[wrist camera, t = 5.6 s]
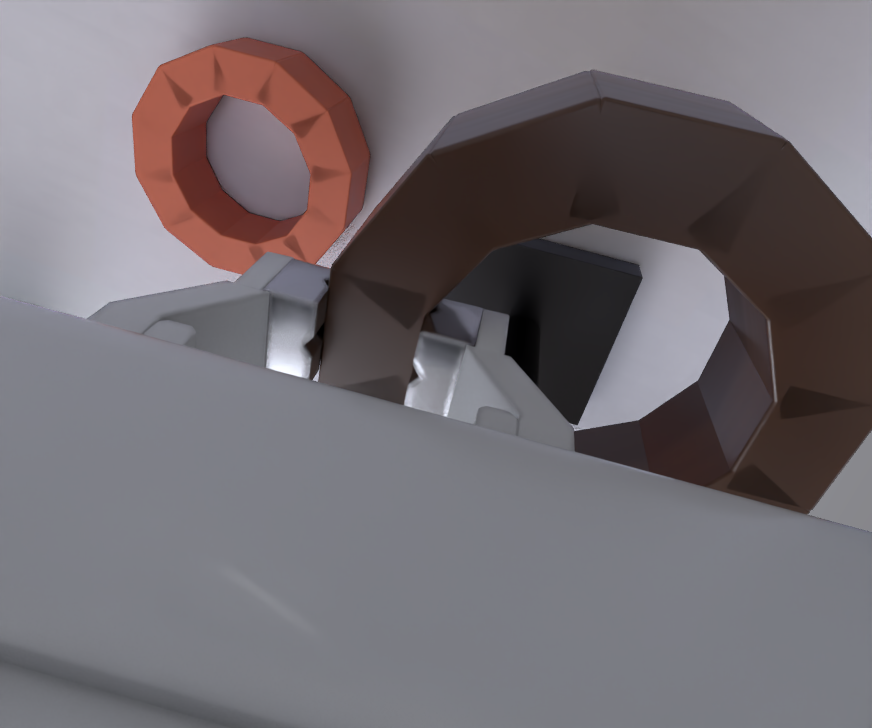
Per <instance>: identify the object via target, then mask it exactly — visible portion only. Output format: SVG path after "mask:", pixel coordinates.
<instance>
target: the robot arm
mask: <svg viewBox="0 0 872 728" xmlns="http://www.w3.org/2000/svg"><path fill="white" fill-rule="evenodd" d="M329 276H330V268H327V267H323V266H320V265H316V264H312V263H309V262H305V261H302V260H298V259H294V258H293V257H290V256H285V255H281V254H277V253H272V252H266V253H265V254H264V255H263V256H262V257H261V258H260V259H259V260H258V261H257V262H256V263H254V264H253V265H252V266H251V267H250V268H249V269H248V270H247V271H246V272H245V273H244V274H243V275H242V276H241V277H239V278H238V279H237V280H236V281H235V282H230V281H222V282H217V283H211V284H206V285H200V286H195V287H189V288H184V289H179V290H173V291H168V292H162V293H157V294H152V295H146V296H141V297H135V298H130V299H124V300H119V301H114V302H109V303H108V304H107V305H105V306H104V307H102V308H101V309H100V310H98V311H97V312H96V313H94V314H93V315H91V316H90V317H89V318H87V319H85V318H81V317H77V316H74V315H70V314H66V313H63V312H59V311H55V310H52V309H48V308H44V307H40V306H37V305H33V304H29V303H26V302H22V301H18V300H15V299H11V298H7V297H4V296H0V728H872V532H869V531H865V530H862V529H858V528H855V527H851V526H847V525H843V524H840V523H836V522H832V521H829V520H825V519H821V518H817V517H814V516H810V515H807V514H803V513H799V512H796V511H792V510H788V509H784V508H781V507H777V506H773V505H770V504H766V503H762V502H759V501H755V500H751V499H748V498H744V497H740V496H736V495H733V494H729V493H725V492H722V491H718V490H714V489H711V488H707V487H703V486H700V485H696V484H692V483H689V482H685V481H681V480H677V479H674V478H670V477H666V476H663V475H659V474H655V473H652V472H648V471H644V470H641V469H637V468H633V467H629V466H626V465H622V464H618V463H615V462H611V461H607V460H604V459H600V458H596V457H593V456H589V455H585V454H581V453H578V452H575V447H574V428H573V427H572V426H571V424H570V423H569V422H568V421H567V420H566V419H565V418H564V417H563V415H562V414H561V413H560V412H559V411H558V410H557V409H556V407H555V406H554V405H553V404H552V403H551V402H550V401H549V400H548V398H547V397H546V396H545V395H544V394H543V393H542V392H541V390H540V389H539V388H538V387H537V386H536V385H535V384H534V383H533V381H532V380H531V379H530V378H529V377H528V376H527V375H526V374H525V372H524V371H523V370H522V369H521V368H520V367H519V366H518V364H517V363H516V362H515V361H514V360H513V359H512V358H511V357H510V356H506V355H504V353H505V346H506V338H507V331H508V324H509V315H508V314H504V313H499V312H494V311H490V310H485V309H484V310H483V308H481V307H476V306H472V305H468V304H464V303H460V302H456V301H452V300H447V299H443V300H442V301H441V302H440V303H439V304H438V305H437V306H436V307H435V308H434V309H433V310H432V311H430V312H429V314H427V315H426V318H425V320H424V323H423V326H422V328H421V331H420V335H419V339H418V343H417V347H416V352H415V356H414V360H413V366H414V369H413V372H412V375H411V378H410V380H409V383H408V387H407V391H406V396H405V401H404V405H401V404H397V403H394V402H390V401H386V400H383V399H379V398H375V397H371V396H368V395H364V394H360V393H357V392H353V391H349V390H346V389H342V388H338V387H335V386H331V385H327V384H324V383H320V382H316V381H313V378H314V377H315V375H316V373H317V372H318V370H319V365H320V359H321V351H322V343H323V332H324V323H325V320H326V311H327V302H328V294H329V287H328V286H329ZM482 311H483V312H482Z"/></svg>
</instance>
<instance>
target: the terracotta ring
mask: <svg viewBox="0 0 872 728" xmlns="http://www.w3.org/2000/svg"><path fill="white" fill-rule="evenodd" d="M223 95H226V96H230V97H234V98H238V99H242V100H245V101H249V102H253V103H257V104H261V105H263V106H264V107H265V108H267V109H268V110H269V111H270V112H271V113H272V114H273V115H274V116H275V117H276V118H277V119H279V120H280V121H281V122H282V123H283V124H284V125H285V126H286V127H287V128H288V129H289V130H291V131H292V132H293V133H294V135H295V137H296V140H297V142H298V144H299V147H300V149H301V152H302V154H303V157H304V159H305V161H306V164H307V166H308V169H309V171H310V174H311V175H310V185H309V196H308V206H307V211H306V212H305V213H304V214H303V215H301V216H297V217H294V218H290V219H287V220H283V221H277V220H273V219H270V218H266V217H262V216H258V215H255V214H251V213H248V212H247V211H246V210H245V209H244V208H242V207H241V206H240V205H239V204H238V203H237V202H235V201H234V200H233V199H232V198H231V197H230V196H228V195H227V194H226V193H225V192H224V191H223V190H222V189H221V187H220V185H219V183H218V181H217V178H216V176H215V174H214V172H213V170H212V168H211V166H210V164H209V162H208V160H207V158H206V122H207V120H208V118H209V117H210V115H211V114H212V112H213V111H214V109H215V107H216V106H217V104H218V103H219V101H220V99H221V98H222V96H223ZM132 125H133V141H134V157H135V172H136V176H137V178H138V180H139V182H140V184H141V185H142V187H143V189H144V191H145V193H146V195H147V196H148V198H149V200H150V202H151V204H152V206H153V207H154V209H155V211H156V213H157V215H158V217H159V218H160V220H161V222H162V224H163V226H164V228H166V229H167V231H169V232H170V233H171V234H172V235H174V236H175V237H176V238H177V239H179V240H180V241H181V242H182V243H183V244H185V245H186V246H187V247H188V248H190V249H191V250H192V251H193V252H195V253H196V254H197V255H198V256H199V257H201V258H202V259H203V260H204V261H206V262H207V263H208V264H209V265H212V267H216V268H220V269H223V270H227V271H231V272H235V273H238V274H242V275H243V274H244V273H245V272H246V271H247V270H248V269H249V268H250V267H251V266H252V265H253V264H254V263H256V262H257V261H258V260H259V259H260V258H261V257H262V256H263V255H264V254H265V253H266V252H272V253H277V254H281V255H285V256H290V257H293V258H294V259H298V260H302V261H305V262H309V263H312V264H316V263H317V262H318V260H319V259H320V258H321V257H322V256H323V255H324V254H325V252H326V251H327V250H328V249H329V248H330V247H331V246H332V244H333V243H334V242H335V241H336V240H337V239H338V237H339V236H340V235H341V234H342V233H343V232H344V231H345V229H346V228H347V227H348V226H349V224H350V223H351V222H352V221H353V220H354V218H355V217H356V216H357V215H358V213H359V212H360V211H361V210H362V208H363V202H364V195H365V189H366V182H367V175H368V168H369V162H370V152H369V149H368V146H367V144H366V141H365V138H364V135H363V132H362V130H361V127H360V124H359V121H358V118H357V116H356V113H355V110H354V107H353V104H352V102H351V99H350V97H349V96H348V95H347V94H346V93H345V92H344V91H343V90H342V89H341V88H340V87H339V86H338V85H337V84H335V83H334V82H333V81H332V80H331V79H330V78H329V77H328V76H327V75H326V74H325V73H324V72H323V71H322V70H321V69H320V68H319V67H318V66H317V65H316V64H315V63H314V62H313V61H312V60H311V59H310V58H309V57H307V56H306V55H305V54H304V53H302V52H300V51H296V50H293V49H289V48H285V47H281V46H277V45H273V44H270V43H266V42H262V41H258V40H254V39H250V38H240V39H235V40H231V41H226V42H222V43H217V44H212V45H210V46H207V47H204V48H202V49H199V50H197V51H194V52H192V53H189V54H187V55H184V56H182V57H179V58H177V59H174V60H172V61H169V62H167V63H164V64H162V65H160V66H159V67H158V68H157V70H156V72H155V74H154V76H153V78H152V79H151V81H150V83H149V85H148V87H147V88H146V90H145V92H144V94H143V96H142V98H141V99H140V101H139V103H138V105H137V107H136V108H135V110H134V112H133V114H132Z"/></svg>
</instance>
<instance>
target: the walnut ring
mask: <svg viewBox="0 0 872 728" xmlns="http://www.w3.org/2000/svg"><path fill="white" fill-rule="evenodd" d="M591 224H594V225H598V226H602V227H607V228H611V229H615V230H619V231H623V232H627V233H632V234H636V235H640V236H644V237H648V238H652V239H656V240H661V241H665V242H669V243H673V244H677V245H681V246H685V247H690V248H694V249H698V250H700V251H701V252H702V253H703V254H704V255H705V257H706V258H707V259H708V260H709V261H710V262H711V263H712V264H713V265H714V266H715V267H716V268H717V269H718V270H719V271H720V272H721V273H722V274H723V275H724V278H725V287H726V295H727V303H728V311H729V319H730V320H729V322H728V324H727V326H726V328H725V329H724V331H723V333H722V335H721V337H720V339H719V341H718V343H717V345H716V347H715V349H714V351H713V353H712V355H711V356H710V358H709V360H708V362H707V364H706V366H705V368H704V370H703V372H702V374H701V376H700V378H699V380H698V381H696V382H695V383H693V384H692V385H690V386H689V387H687V388H686V389H684V390H683V391H682V392H680V393H679V394H677V395H676V396H674V397H673V398H671V399H670V400H668V401H667V402H665V403H664V404H662V405H661V406H659V407H658V408H656V409H655V410H653V411H652V412H650V413H649V414H648V415H646V416H645V417H643V418H642V419H640V420H638V421H632V422H626V423H620V424H614V425H608V426H602V427H596V428H590V429H585V430H579V431H574V447H575V452H578V453H581V454H585V455H589V456H593V457H596V458H600V459H604V460H607V461H611V462H615V463H618V464H622V465H626V466H629V467H633V468H637V469H641V470H644V471H648V472H652V473H655V474H659V475H663V476H666V477H670V478H674V479H677V480H681V481H685V482H689V483H692V484H696V485H700V486H703V487H707V488H711V489H714V490H718V491H722V492H725V493H729V494H733V495H736V496H740V497H744V498H748V499H751V500H755V501H759V502H762V503H766V504H770V505H773V506H777V507H781V508H784V509H788V510H792V511H796V512H799V513H803V514H809V513H810V511H811V510H813V508H814V507H815V506H816V504H817V503H818V502H819V500H820V499H821V498H822V496H823V495H824V493H825V492H826V491H827V490H828V488H829V487H830V486H831V484H832V483H833V482H834V480H835V479H836V478H837V476H838V475H839V474H840V472H841V471H842V469H843V468H844V467H845V465H846V464H847V463H848V462H849V460H850V459H851V457H852V456H853V455H854V453H855V452H856V451H857V449H858V448H859V447H860V445H861V444H862V443H863V441H864V440H865V438H866V437H867V436H868V435H869V433H870V432H871V431H872V238H871V236H870V235H869V234H868V233H867V232H866V231H865V229H864V228H863V227H862V226H861V225H860V224H859V222H858V221H857V220H856V219H855V218H854V217H853V215H852V214H851V213H850V212H849V211H848V210H847V208H846V207H845V206H844V205H843V204H842V202H841V201H840V200H839V199H838V198H837V197H836V195H835V194H834V193H833V192H832V191H831V190H830V188H829V187H828V186H827V185H826V184H825V183H824V181H823V180H822V179H821V178H820V177H819V176H818V174H817V173H816V172H815V171H814V170H813V169H812V167H811V166H810V165H809V164H808V163H807V162H806V160H805V159H804V158H803V157H802V156H801V155H800V153H799V152H798V151H797V150H796V149H795V148H794V146H793V145H792V144H791V143H790V142H789V141H788V140H786V139H785V138H783V137H782V136H780V135H779V134H777V133H776V132H774V131H773V130H771V129H770V128H768V127H767V126H765V125H764V124H763V123H761V122H760V121H758V120H757V119H755V118H754V117H752V116H751V115H749V114H748V113H746V112H745V111H743V110H742V109H740V108H739V107H737V106H736V105H734V104H732V103H731V102H729V101H725V100H721V99H716V98H712V97H708V96H703V95H699V94H695V93H691V92H686V91H682V90H678V89H674V88H669V87H665V86H661V85H656V84H652V83H648V82H644V81H639V80H635V79H631V78H627V77H622V76H618V75H614V74H609V73H605V72H601V71H597V70H590V71H584V72H581V73H578V74H575V75H572V76H569V77H566V78H563V79H560V80H557V81H554V82H551V83H548V84H545V85H542V86H539V87H536V88H533V89H530V90H527V91H524V92H521V93H519V94H516V95H513V96H510V97H507V98H504V99H501V100H498V101H495V102H492V103H489V104H486V105H483V106H480V107H477V108H474V109H471V110H468V111H465V112H462V113H459V114H457V115H456V116H453V117H452V118H451V119H450V120H449V122H448V123H447V124H446V125H445V126H444V127H443V129H442V130H441V131H440V132H439V133H438V135H437V136H436V137H435V138H434V139H433V140H432V142H431V143H430V144H429V145H428V146H427V148H426V149H425V150H424V151H423V152H422V153H421V155H420V156H419V157H418V158H417V159H416V161H415V162H414V163H413V164H412V165H411V166H410V168H409V169H408V170H407V171H406V172H405V173H404V175H403V176H402V177H401V178H400V179H399V181H398V182H397V183H396V184H395V185H394V186H393V188H392V189H391V190H390V191H389V192H388V194H387V195H386V196H385V197H384V198H383V199H382V201H381V202H380V203H379V204H378V205H377V207H376V208H375V209H374V210H373V212H372V213H371V214H370V215H369V217H368V218H367V219H366V221H365V222H364V223H363V225H362V226H361V227H360V229H359V230H358V231H357V233H356V234H355V235H354V237H353V238H352V239H351V240H350V242H349V243H348V244H347V246H346V247H345V248H344V250H343V251H342V252H341V254H340V255H339V256H338V258H337V259H336V260H335V261H334V263H333V264H332V267H331V269H330V276H329V286H328V287H329V294H328V302H327V311H326V320H325V323H324V332H323V343H322V351H321V360H320V370H319V379H318V382H320V383H324V384H327V385H331V386H335V387H338V388H342V389H346V390H349V391H353V392H357V393H360V394H364V395H368V396H371V397H375V398H379V399H383V400H386V401H390V402H394V403H397V404H401V405H404V401H405V396H406V391H407V387H408V383H409V380H410V378H411V375H412V372H413V369H414V366H413V360H414V356H415V352H416V347H417V343H418V339H419V335H420V331H421V328H422V326H423V323H424V320H425V318H426V315H427V314H429V312H430V311H432V310H433V309H434V308H435V307H436V306H437V305H438V304H439V303H440V302H441V301H442V300H443V299H444V298H445V297H446V296H447V295H448V294H449V293H450V292H451V291H452V290H453V289H454V288H455V287H456V286H457V285H458V284H459V283H460V282H461V281H462V280H463V279H464V278H465V277H466V276H467V275H468V274H469V273H470V272H471V271H472V270H473V269H474V268H476V267H477V266H478V265H479V264H480V263H481V262H482V261H483V260H484V259H485V258H486V257H487V256H488V255H489V254H490V253H491V252H492V251H493V250H497V249H500V248H504V247H508V246H512V245H516V244H519V243H523V242H527V241H531V240H534V239H538V238H542V237H546V236H550V235H553V234H557V233H561V232H565V231H568V230H572V229H576V228H580V227H584V226H587V225H591Z"/></svg>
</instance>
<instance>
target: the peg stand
mask: <svg viewBox="0 0 872 728" xmlns="http://www.w3.org/2000/svg"><path fill="white" fill-rule="evenodd" d="M641 280H642V274H641V270H640V267H639V265H637V264H633V263H629V262H626V261H622V260H618V259H614V258H611V257H607V256H603V255H599V254H595V253H592V252H588V251H584V250H580V249H577V248H573V247H569V246H565V245H562V244H558V243H554V242H550V241H546V240H543V239H539V238H538V239H534V240H531V241H527V242H523V243H519V244H516V245H512V246H508V247H504V248H500V249H497V250H493V251H492V252H491V253H490V254H489V255H488V256H487V257H486V258H485V259H484V260H483V261H482V262H481V263H480V264H479V265H478V266H477V267H476V268H474V269H473V270H472V271H471V272H470V273H469V274H468V275H467V276H466V277H465V278H464V279H463V280H462V281H461V282H460V283H459V284H458V285H457V286H456V287H455V288H454V289H453V290H452V291H451V292H450V293H449V294H448V295H447V296H446V297H445V298H444V299H447V300H452V301H456V302H460V303H464V304H468V305H472V306H476V307H481V308H483V310H484V309H485V310H490V311H494V312H499V313H504V314H508V315H509V324H508V331H507V338H506V346H505V353H504V355H506V356H510V357H511V358H512V359H513V360H514V361H515V362H516V363H517V364H518V366H519V367H520V368H521V369H522V370H523V371H524V372H525V374H526V375H527V376H528V377H529V378H530V379H531V380H532V381H533V383H534V384H535V385H536V386H537V387H538V388H539V389H540V390H541V392H542V393H543V394H544V395H545V396H546V397H547V398H548V400H549V401H550V402H551V403H552V404H553V405H554V406H555V407H556V409H557V410H558V411H559V412H560V413H561V414H562V415H563V417H564V418H565V419H566V420H567V421H568V422H569V423H571V424H575V425H578V423H579V421H580V419H581V416H582V414H583V412H584V410H585V407H586V405H587V403H588V401H589V398H590V396H591V394H592V392H593V389H594V387H595V385H596V382H597V380H598V378H599V376H600V373H601V371H602V369H603V367H604V364H605V362H606V360H607V358H608V355H609V353H610V351H611V348H612V346H613V344H614V342H615V339H616V337H617V335H618V333H619V330H620V328H621V326H622V324H623V321H624V319H625V317H626V314H627V312H628V310H629V308H630V305H631V303H632V301H633V299H634V296H635V294H636V292H637V290H638V287H639V285H640V283H641ZM482 312H483V311H482Z"/></svg>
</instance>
